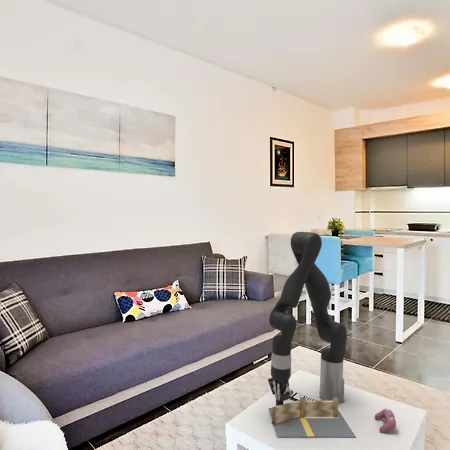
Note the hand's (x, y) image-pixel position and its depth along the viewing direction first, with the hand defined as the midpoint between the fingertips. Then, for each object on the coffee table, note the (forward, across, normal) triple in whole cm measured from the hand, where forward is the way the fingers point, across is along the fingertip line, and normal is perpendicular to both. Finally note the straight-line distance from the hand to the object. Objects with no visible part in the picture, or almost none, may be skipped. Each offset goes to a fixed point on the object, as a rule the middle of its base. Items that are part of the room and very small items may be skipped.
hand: (279, 408), depth 138 cm
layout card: (+4, -7, -9) cm, 12 cm away
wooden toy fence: (+4, -6, -14) cm, 16 cm away
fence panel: (+3, -3, -1) cm, 4 cm away
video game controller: (+4, -22, -32) cm, 40 cm away
